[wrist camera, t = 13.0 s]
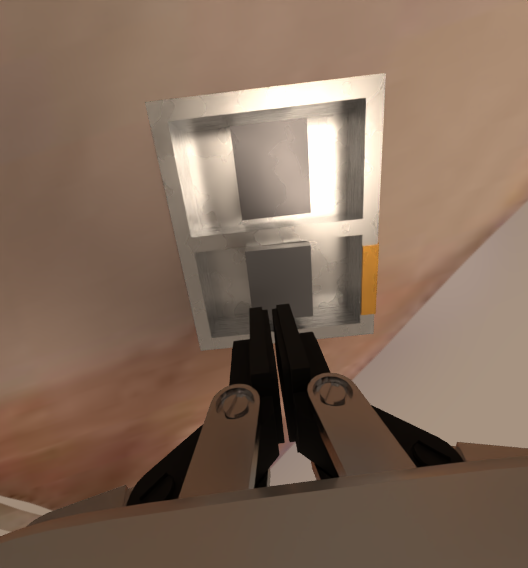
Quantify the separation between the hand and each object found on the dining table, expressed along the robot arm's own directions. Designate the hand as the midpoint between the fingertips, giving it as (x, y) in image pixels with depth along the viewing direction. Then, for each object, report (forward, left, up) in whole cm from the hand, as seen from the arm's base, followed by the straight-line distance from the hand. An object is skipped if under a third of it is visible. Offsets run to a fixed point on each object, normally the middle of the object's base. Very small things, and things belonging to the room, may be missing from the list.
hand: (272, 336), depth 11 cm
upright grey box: (0, +1, -11) cm, 10 cm away
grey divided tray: (-3, +1, -11) cm, 12 cm away
